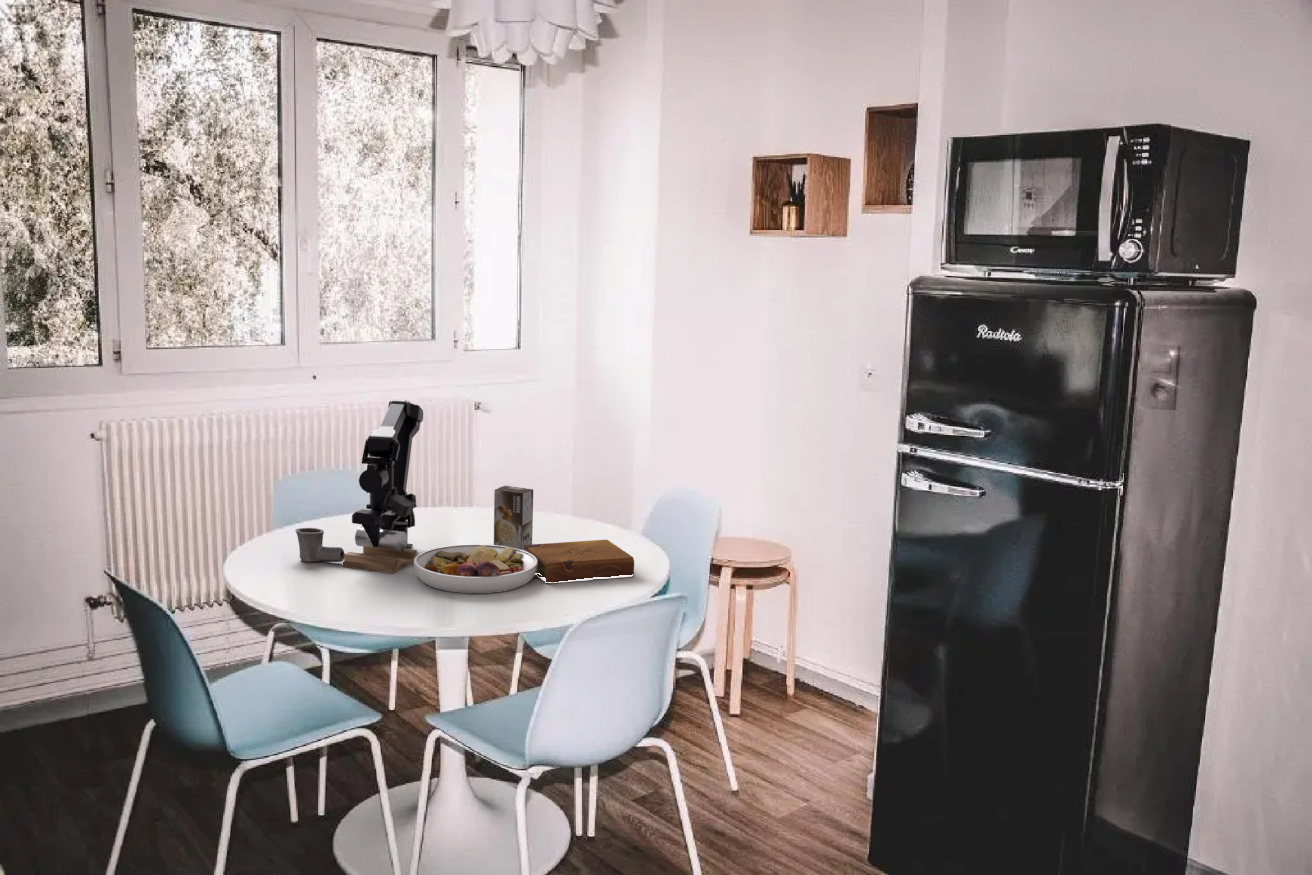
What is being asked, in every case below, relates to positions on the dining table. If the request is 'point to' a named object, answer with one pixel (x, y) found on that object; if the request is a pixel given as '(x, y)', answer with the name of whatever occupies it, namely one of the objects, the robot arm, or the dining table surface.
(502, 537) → the coffee box
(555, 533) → the dining table surface
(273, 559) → the dining table surface
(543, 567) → the wooden box
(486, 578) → the bowl
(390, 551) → the v block
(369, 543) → the silver cylinder
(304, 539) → the pipe
